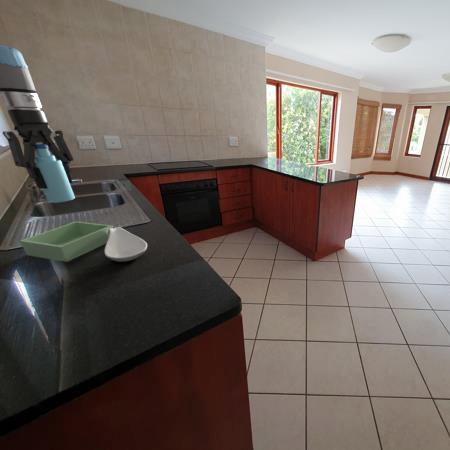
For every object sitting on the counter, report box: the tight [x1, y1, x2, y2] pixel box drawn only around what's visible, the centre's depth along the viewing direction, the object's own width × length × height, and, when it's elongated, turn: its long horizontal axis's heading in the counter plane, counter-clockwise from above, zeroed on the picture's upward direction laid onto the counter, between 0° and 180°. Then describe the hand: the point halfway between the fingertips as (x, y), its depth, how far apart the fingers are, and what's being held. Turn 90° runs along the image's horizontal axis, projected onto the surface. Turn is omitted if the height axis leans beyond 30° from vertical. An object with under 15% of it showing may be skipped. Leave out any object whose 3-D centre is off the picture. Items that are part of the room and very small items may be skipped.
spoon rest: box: [104, 226, 148, 263], centre depth 83 cm, size 24×12×7 cm, turn 48°
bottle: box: [35, 143, 76, 204], centre depth 78 cm, size 7×7×18 cm
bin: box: [19, 220, 114, 263], centre depth 86 cm, size 18×18×6 cm
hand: (56, 185), depth 79 cm, fingers closed on bottle, 7 cm apart
